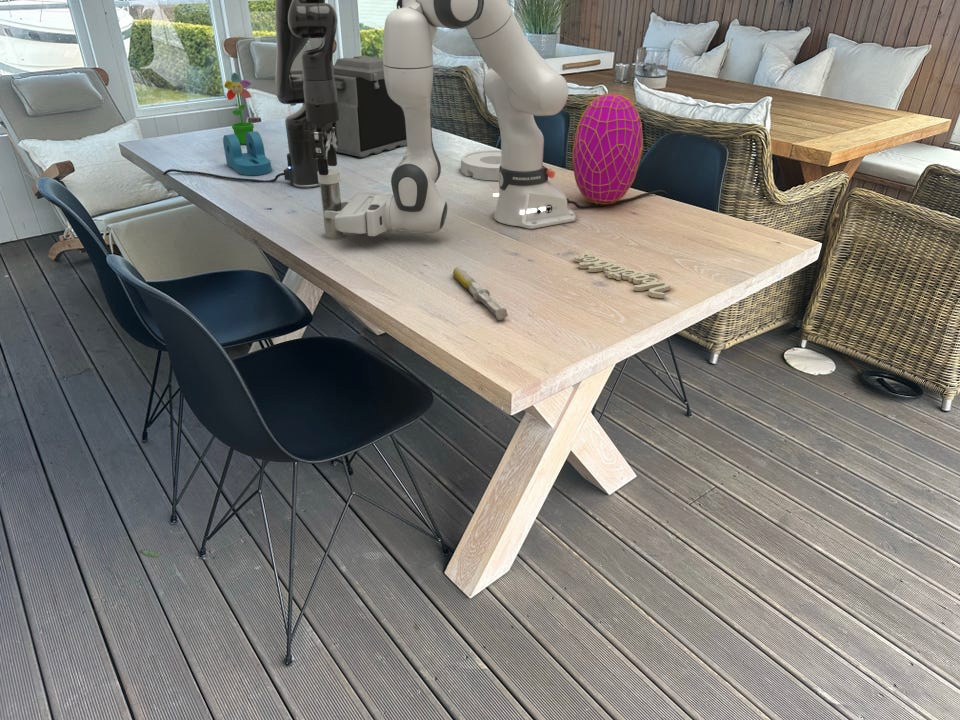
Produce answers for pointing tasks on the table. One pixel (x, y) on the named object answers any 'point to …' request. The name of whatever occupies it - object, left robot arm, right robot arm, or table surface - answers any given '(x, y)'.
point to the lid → (329, 177)
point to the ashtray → (482, 164)
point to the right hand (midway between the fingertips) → (328, 209)
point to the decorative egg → (607, 148)
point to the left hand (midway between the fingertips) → (328, 170)
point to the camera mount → (246, 154)
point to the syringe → (479, 293)
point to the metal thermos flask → (331, 208)
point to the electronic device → (366, 108)
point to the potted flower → (236, 88)
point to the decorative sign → (625, 274)
